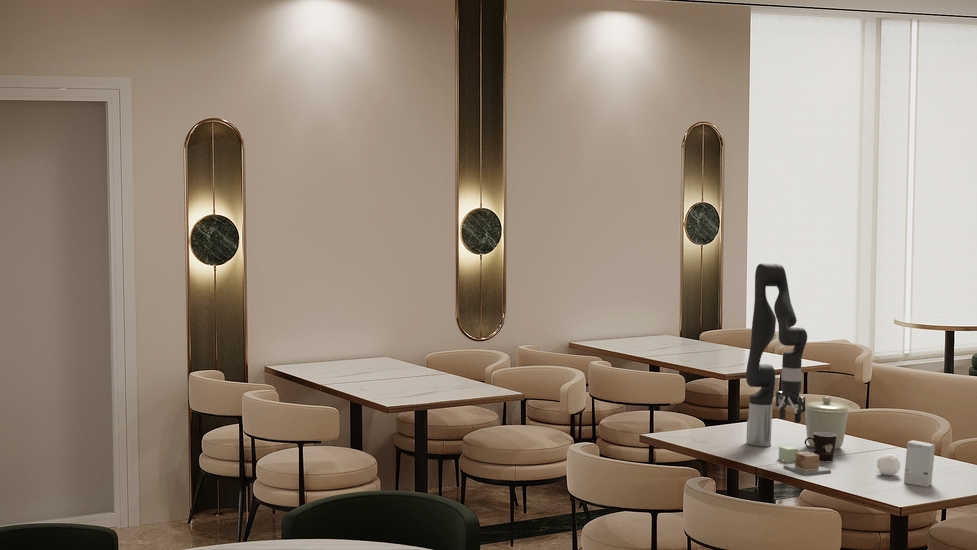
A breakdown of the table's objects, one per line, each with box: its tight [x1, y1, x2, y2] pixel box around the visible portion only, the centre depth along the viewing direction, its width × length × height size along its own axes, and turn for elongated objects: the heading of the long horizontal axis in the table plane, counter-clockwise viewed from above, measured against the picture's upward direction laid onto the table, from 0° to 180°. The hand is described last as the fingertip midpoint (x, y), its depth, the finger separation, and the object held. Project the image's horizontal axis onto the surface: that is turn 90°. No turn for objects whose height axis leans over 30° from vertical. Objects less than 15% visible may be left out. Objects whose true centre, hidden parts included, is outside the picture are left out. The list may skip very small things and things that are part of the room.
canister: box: [804, 396, 851, 451], centre depth 415 cm, size 18×18×21 cm
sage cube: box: [778, 445, 799, 463], centre depth 391 cm, size 5×5×5 cm
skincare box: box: [903, 440, 936, 488], centre depth 359 cm, size 8×6×15 cm
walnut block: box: [794, 451, 820, 470], centre depth 376 cm, size 6×6×5 cm
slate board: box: [782, 463, 832, 476], centre depth 376 cm, size 12×12×1 cm
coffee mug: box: [804, 432, 837, 463], centre depth 394 cm, size 12×9×10 cm
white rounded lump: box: [876, 453, 901, 477], centre depth 373 cm, size 8×8×12 cm
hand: (789, 420), depth 390 cm, fingers open, 8 cm apart
